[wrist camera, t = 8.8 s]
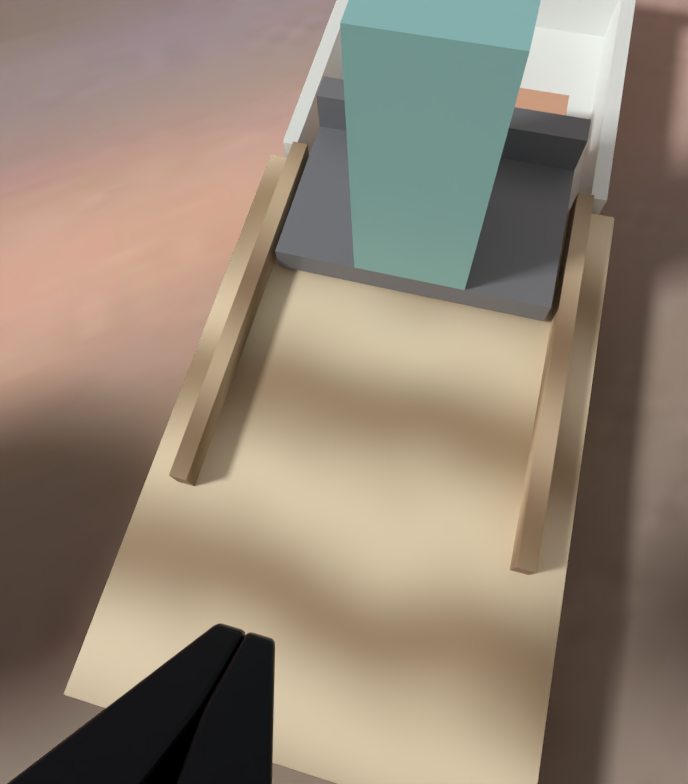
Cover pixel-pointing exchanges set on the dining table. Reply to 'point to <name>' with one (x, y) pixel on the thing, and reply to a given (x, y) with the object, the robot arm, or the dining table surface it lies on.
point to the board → (367, 509)
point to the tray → (532, 78)
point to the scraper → (436, 160)
